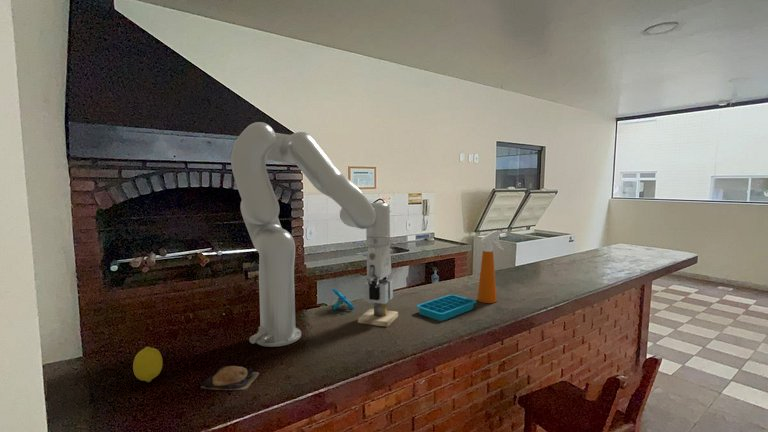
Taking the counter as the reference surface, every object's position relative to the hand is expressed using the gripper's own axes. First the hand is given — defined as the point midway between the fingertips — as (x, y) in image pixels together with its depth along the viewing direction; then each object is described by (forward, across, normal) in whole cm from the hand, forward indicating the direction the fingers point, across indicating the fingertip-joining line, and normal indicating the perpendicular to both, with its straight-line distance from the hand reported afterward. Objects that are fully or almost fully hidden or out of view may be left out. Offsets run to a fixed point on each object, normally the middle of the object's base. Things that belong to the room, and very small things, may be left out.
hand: (378, 295), depth 120 cm
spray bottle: (+8, +34, -32) cm, 47 cm away
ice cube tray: (+9, +16, -19) cm, 26 cm away
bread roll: (+8, -47, +17) cm, 51 cm away
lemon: (+8, -54, +33) cm, 64 cm away
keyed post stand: (+8, 0, 0) cm, 8 cm away
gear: (+8, +5, +16) cm, 19 cm away
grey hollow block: (+1, 0, 0) cm, 1 cm away
